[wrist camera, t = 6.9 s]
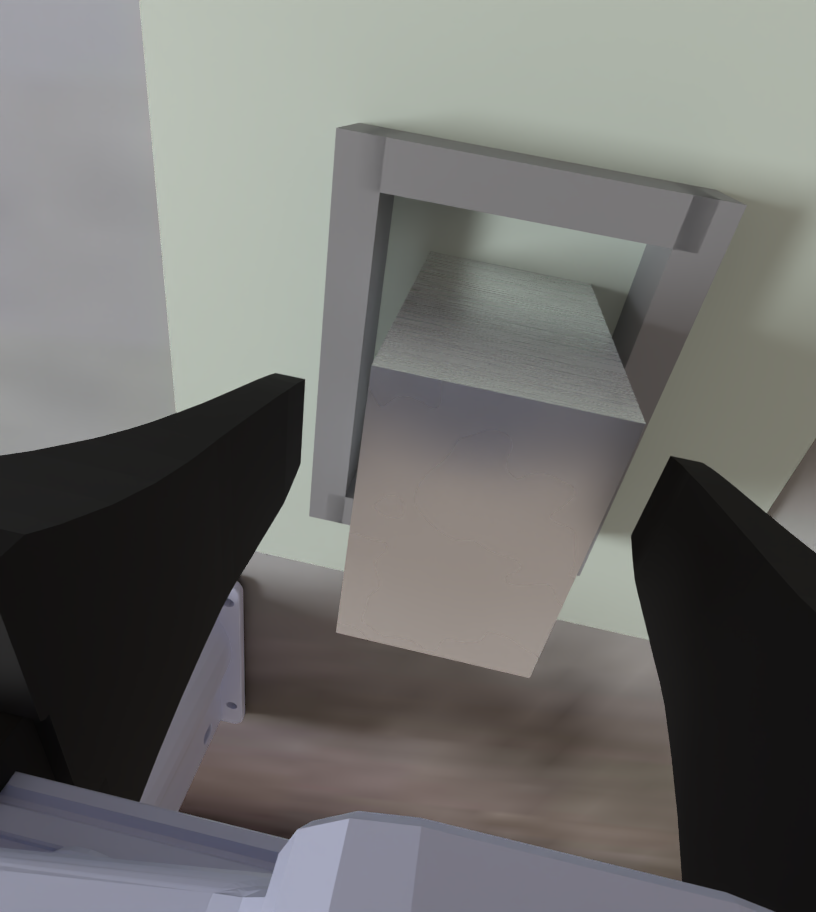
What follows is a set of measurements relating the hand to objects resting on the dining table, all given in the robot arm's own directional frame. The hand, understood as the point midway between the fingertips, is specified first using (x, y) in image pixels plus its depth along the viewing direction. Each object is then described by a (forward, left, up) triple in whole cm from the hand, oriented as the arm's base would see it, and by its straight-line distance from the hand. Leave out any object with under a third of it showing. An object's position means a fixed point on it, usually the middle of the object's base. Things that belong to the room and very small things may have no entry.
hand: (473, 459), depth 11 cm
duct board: (0, 0, -5) cm, 5 cm away
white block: (0, 0, -5) cm, 5 cm away
